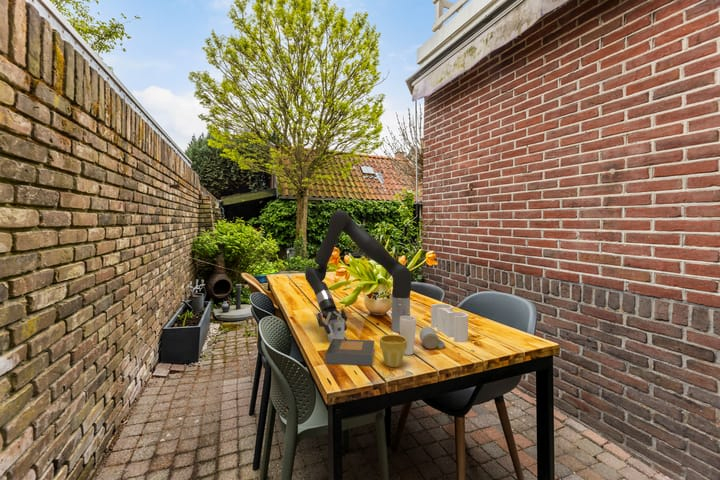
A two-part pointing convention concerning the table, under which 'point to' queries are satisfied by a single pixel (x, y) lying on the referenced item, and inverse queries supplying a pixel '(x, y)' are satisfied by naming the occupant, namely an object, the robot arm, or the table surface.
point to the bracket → (450, 322)
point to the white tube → (408, 332)
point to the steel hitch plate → (350, 352)
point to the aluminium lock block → (336, 329)
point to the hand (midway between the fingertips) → (337, 331)
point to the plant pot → (393, 349)
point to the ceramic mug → (430, 338)
